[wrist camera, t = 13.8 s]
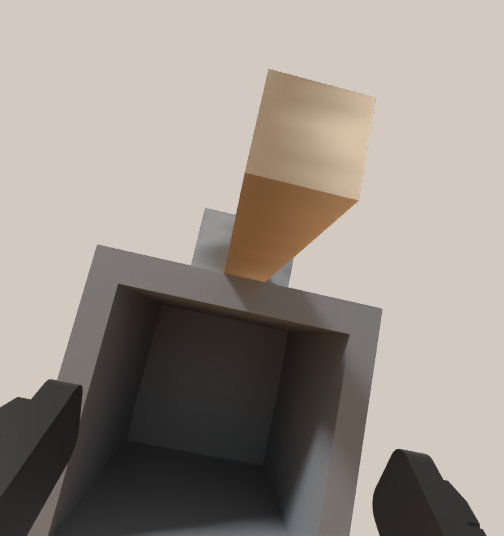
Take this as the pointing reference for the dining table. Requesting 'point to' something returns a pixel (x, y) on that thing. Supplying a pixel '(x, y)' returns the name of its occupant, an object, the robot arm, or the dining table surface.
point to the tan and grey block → (290, 179)
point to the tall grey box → (211, 405)
